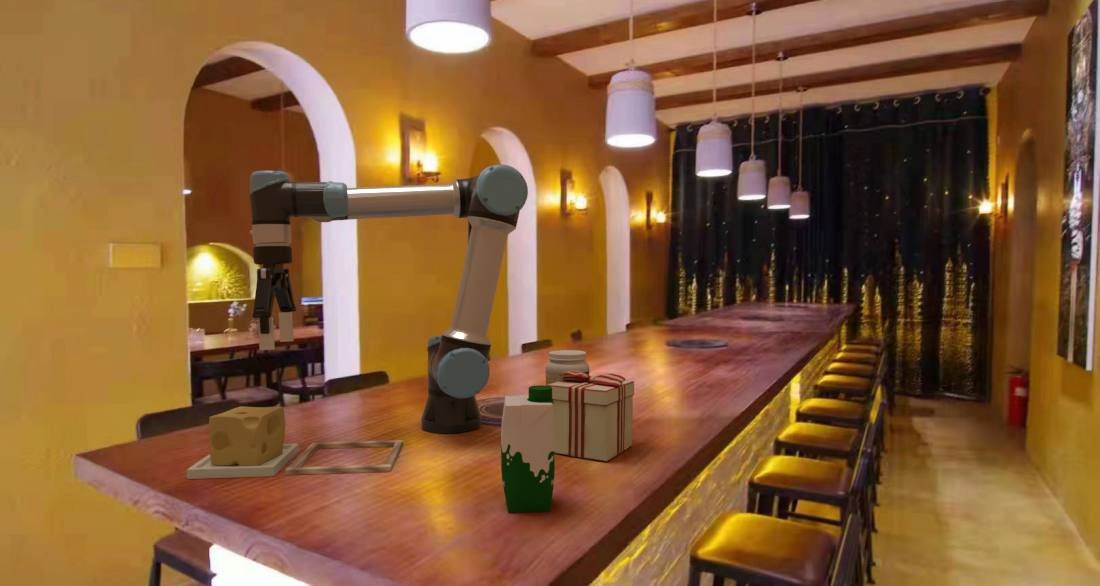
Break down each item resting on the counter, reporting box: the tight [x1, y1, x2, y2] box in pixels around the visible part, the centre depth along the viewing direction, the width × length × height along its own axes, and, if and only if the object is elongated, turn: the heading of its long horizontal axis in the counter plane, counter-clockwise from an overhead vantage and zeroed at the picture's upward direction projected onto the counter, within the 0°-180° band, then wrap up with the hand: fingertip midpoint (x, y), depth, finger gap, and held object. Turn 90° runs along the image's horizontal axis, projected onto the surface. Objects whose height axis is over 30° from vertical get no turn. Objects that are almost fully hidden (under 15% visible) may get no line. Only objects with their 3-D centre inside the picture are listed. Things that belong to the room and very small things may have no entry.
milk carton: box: [500, 384, 556, 514], centre depth 106 cm, size 9×9×20 cm
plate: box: [186, 443, 300, 480], centre depth 128 cm, size 16×16×2 cm
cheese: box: [208, 406, 286, 466], centre depth 128 cm, size 10×11×10 cm
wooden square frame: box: [284, 439, 404, 476], centre depth 132 cm, size 20×19×1 cm
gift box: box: [545, 370, 635, 462], centre depth 140 cm, size 17×18×17 cm
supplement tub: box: [545, 349, 590, 386], centre depth 172 cm, size 12×12×17 cm
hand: (277, 345), depth 133 cm, fingers open, 13 cm apart
